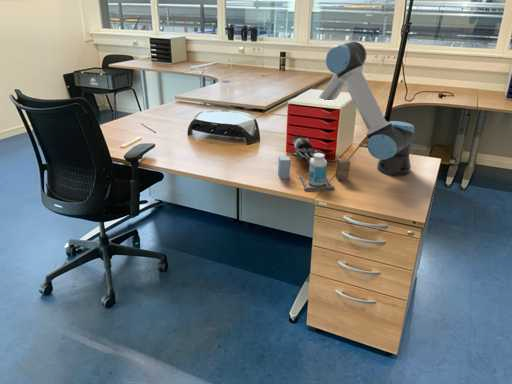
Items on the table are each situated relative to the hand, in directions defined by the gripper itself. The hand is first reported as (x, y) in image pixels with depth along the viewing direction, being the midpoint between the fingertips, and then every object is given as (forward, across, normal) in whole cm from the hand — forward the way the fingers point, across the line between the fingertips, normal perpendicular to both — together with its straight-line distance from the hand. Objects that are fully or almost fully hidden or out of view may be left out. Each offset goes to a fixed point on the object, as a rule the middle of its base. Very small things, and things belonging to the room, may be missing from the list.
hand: (314, 166), depth 188 cm
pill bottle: (+4, 0, -7) cm, 8 cm away
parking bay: (+4, 0, -6) cm, 8 cm away
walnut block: (0, -13, -7) cm, 15 cm away
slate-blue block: (-4, +13, -7) cm, 15 cm away
